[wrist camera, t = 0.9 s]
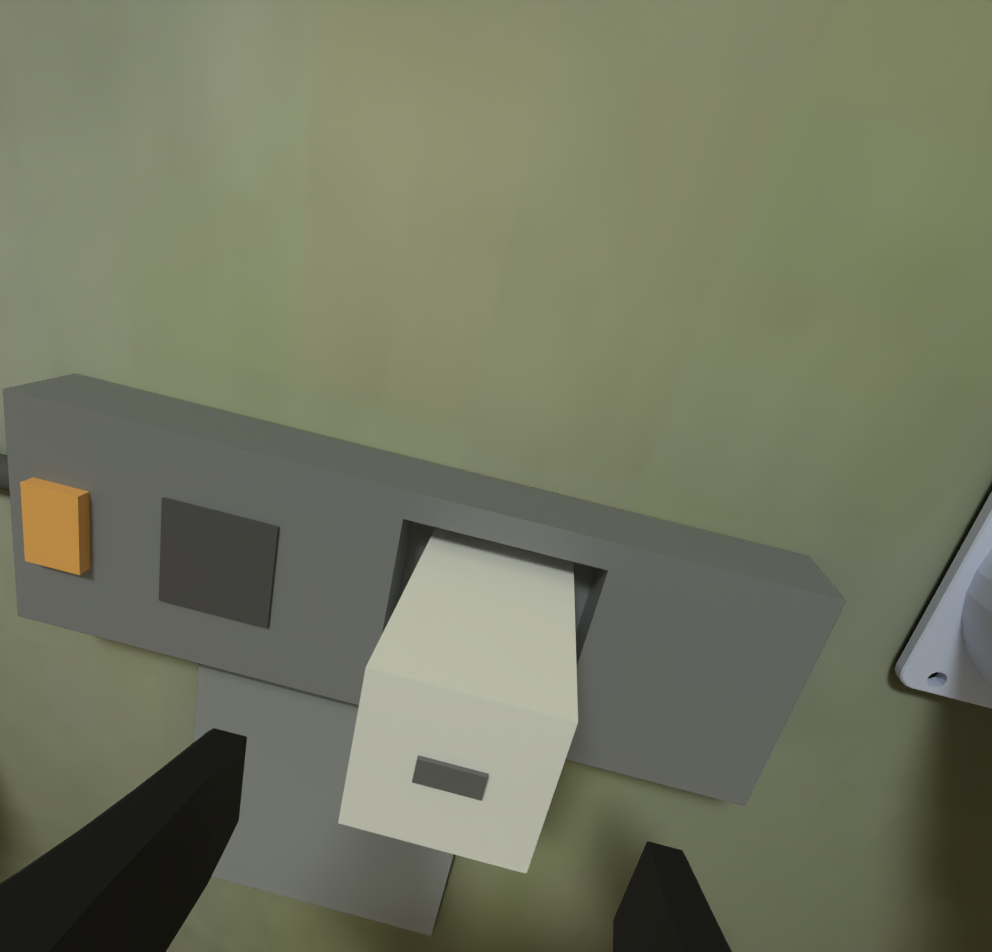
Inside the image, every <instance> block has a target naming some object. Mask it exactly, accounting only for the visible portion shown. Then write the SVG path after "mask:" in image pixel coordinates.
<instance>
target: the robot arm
mask: <svg viewBox="0 0 992 952" xmlns="http://www.w3.org/2000/svg"><path fill="white" fill-rule="evenodd" d="M935 672H938V674H937V675H936V676H935V677H933V678H930V679H928V677H929V676H930V675H931V674H933V673H935ZM895 673H896V675H897V677H898V678H899V679H900V680H901V681H902V683H903V684H904V685H905V686H907V687H909V688H912V689H916V690H920V691H924V692H928V693H932V694H936V695H940V696H944V697H948V698H952V699H956V700H959V701H963V702H967V703H971V704H975V705H979V706H983V707H987V708H991V709H992V492H991V493H990V495H989V497H988V499H987V501H986V502H985V504H984V506H983V508H982V510H981V512H980V513H979V515H978V517H977V519H976V521H975V522H974V524H973V526H972V528H971V530H970V531H969V533H968V535H967V537H966V539H965V540H964V542H963V544H962V546H961V548H960V549H959V551H958V553H957V555H956V557H955V558H954V560H953V562H952V564H951V566H950V568H949V569H948V571H947V573H946V575H945V577H944V578H943V580H942V582H941V584H940V586H939V587H938V589H937V591H936V593H935V595H934V596H933V598H932V600H931V602H930V604H929V605H928V607H927V609H926V611H925V613H924V615H923V616H922V618H921V620H920V622H919V624H918V625H917V627H916V629H915V631H914V633H913V634H912V636H911V638H910V640H909V642H908V643H907V645H906V647H905V649H904V651H903V652H902V654H901V656H900V658H899V660H898V661H897V663H896V666H895ZM246 743H247V737H246V736H243V735H239V734H235V733H231V732H227V731H223V730H220V729H216V728H213V729H211V730H209V731H207V732H206V733H205V734H204V735H203V736H201V737H200V738H199V739H198V740H196V741H195V742H194V743H193V744H191V745H190V746H189V747H188V748H186V749H185V750H184V751H183V752H182V753H180V754H179V755H178V756H177V757H175V758H174V759H173V760H172V761H170V762H169V763H168V764H166V765H165V766H164V767H163V768H161V769H160V770H159V771H158V772H156V773H155V774H154V775H152V776H151V777H150V778H149V779H147V780H146V781H145V782H143V783H142V784H141V785H140V786H138V787H137V788H136V789H134V790H133V791H132V792H130V793H129V794H128V795H126V796H125V797H124V798H122V799H121V800H120V801H118V802H117V803H116V804H114V805H113V806H111V807H110V808H109V809H107V810H106V811H105V812H103V813H102V814H101V815H99V816H98V817H97V818H95V819H94V820H93V821H91V822H90V823H89V824H87V825H86V826H84V827H83V828H82V829H80V830H79V831H77V832H76V833H75V834H73V835H72V836H70V837H69V838H67V839H66V840H64V841H63V842H61V843H60V844H59V845H57V846H56V847H54V848H53V849H51V850H50V851H48V852H47V853H45V854H44V855H43V856H41V857H40V858H38V859H37V860H35V861H34V862H32V863H31V864H29V865H28V866H26V867H25V868H24V869H22V870H21V871H19V872H18V873H16V874H15V875H13V876H12V877H10V878H9V879H7V880H5V881H4V882H2V883H1V884H0V952H166V950H167V949H168V947H169V945H170V944H171V942H172V941H173V939H174V937H175V936H176V934H177V933H178V931H179V929H180V928H181V926H182V924H183V923H184V921H185V920H186V918H187V916H188V915H189V913H190V912H191V910H192V908H193V907H194V905H195V903H196V902H197V900H198V899H199V897H200V895H201V894H202V892H203V890H204V889H205V887H206V885H207V884H208V882H209V880H210V878H211V876H212V874H213V872H214V870H215V868H216V866H217V864H218V862H219V860H220V858H221V856H222V854H223V852H224V850H225V848H226V846H227V844H228V842H229V840H230V838H231V836H232V834H233V832H234V830H235V828H236V826H237V823H238V821H239V814H240V804H241V794H242V784H243V773H244V763H245V753H246ZM613 952H732V951H731V949H730V947H729V945H728V943H727V941H726V939H725V937H724V935H723V933H722V931H721V929H720V927H719V925H718V923H717V921H716V919H715V917H714V915H713V913H712V911H711V909H710V907H709V905H708V902H707V900H706V898H705V896H704V894H703V892H702V890H701V888H700V886H699V884H698V881H697V879H696V877H695V875H694V873H693V871H692V869H691V867H690V865H689V862H688V860H687V858H686V856H685V855H684V853H683V851H682V850H679V849H675V848H671V847H667V846H663V845H660V844H656V843H652V842H648V841H647V843H646V846H645V848H644V850H643V853H642V855H641V857H640V860H639V862H638V864H637V866H636V869H635V871H634V873H633V876H632V878H631V880H630V883H629V885H628V887H627V890H626V892H625V894H624V897H623V899H622V901H621V904H620V906H619V908H618V911H617V913H616V915H615V918H614V920H613Z"/></svg>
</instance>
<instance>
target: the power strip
mask: <svg viewBox="0 0 992 952" xmlns="http://www.w3.org/2000/svg"><path fill="white" fill-rule="evenodd" d="M3 399H4V414H5V429H6V444H7V455H3V454H0V488H3V489H7V490H10V503H11V518H12V533H13V548H14V563H15V578H16V592H17V607H18V616H20V617H24V618H28V619H31V620H35V621H39V622H43V623H47V624H51V625H54V626H58V627H62V628H66V629H70V630H73V631H77V632H81V633H85V634H89V635H93V636H96V637H100V638H104V639H108V640H112V641H116V642H119V643H123V644H127V645H131V646H135V647H138V648H142V649H146V650H150V651H154V652H158V653H161V654H165V655H169V656H173V657H177V658H180V659H184V660H188V661H192V662H196V663H200V664H203V665H207V666H211V667H215V668H219V669H222V670H226V671H230V672H234V673H238V674H242V675H245V676H249V677H253V678H257V679H261V680H264V681H268V682H272V683H276V684H280V685H284V686H287V687H291V688H295V689H299V690H303V691H307V692H310V693H314V694H318V695H322V696H326V697H329V698H333V699H337V700H341V701H345V702H349V703H352V704H356V705H359V702H360V696H361V691H362V685H363V679H364V674H365V668H366V666H367V664H368V662H369V660H370V658H371V656H372V654H373V652H374V650H375V648H376V646H377V644H378V642H379V640H380V638H381V636H382V634H383V632H384V630H385V628H386V626H387V624H388V622H389V620H390V618H391V616H392V614H393V612H394V610H395V608H396V606H397V604H398V602H399V600H400V598H401V596H402V594H403V592H404V590H405V588H406V586H407V584H408V582H409V580H410V578H411V576H412V574H413V572H414V570H415V568H416V566H417V564H418V562H419V560H420V558H421V556H422V554H423V552H424V550H425V548H426V546H427V544H428V542H429V540H430V538H431V536H432V534H433V532H434V530H435V528H436V527H437V528H441V529H445V530H449V531H453V532H457V533H461V534H465V535H469V536H473V537H477V538H481V539H485V540H489V541H493V542H497V543H501V544H505V545H509V546H513V547H517V548H521V549H525V550H529V551H533V552H536V553H540V554H544V555H548V556H552V557H556V558H560V559H564V560H568V561H572V562H574V596H575V631H576V665H577V700H578V724H577V727H576V730H575V733H574V736H573V739H572V742H571V745H570V748H569V751H568V753H567V756H566V760H570V761H574V762H578V763H582V764H585V765H589V766H593V767H597V768H601V769H605V770H608V771H612V772H616V773H620V774H624V775H627V776H631V777H635V778H639V779H643V780H647V781H650V782H654V783H658V784H662V785H666V786H669V787H673V788H677V789H681V790H685V791H689V792H692V793H696V794H700V795H704V796H708V797H711V798H715V799H719V800H723V801H727V802H731V803H734V804H738V805H742V806H745V804H746V802H747V800H748V798H749V796H750V794H751V792H752V790H753V788H754V786H755V784H756V782H757V780H758V778H759V776H760V774H761V772H762V770H763V768H764V766H765V764H766V762H767V760H768V758H769V756H770V754H771V752H772V750H773V748H774V746H775V744H776V742H777V740H778V738H779V736H780V734H781V732H782V730H783V728H784V726H785V724H786V722H787V720H788V718H789V716H790V714H791V712H792V710H793V708H794V706H795V704H796V702H797V700H798V698H799V696H800V693H801V691H802V689H803V687H804V685H805V683H806V681H807V679H808V677H809V675H810V673H811V671H812V669H813V667H814V665H815V663H816V661H817V659H818V657H819V655H820V653H821V651H822V649H823V647H824V645H825V643H826V641H827V639H828V637H829V635H830V633H831V631H832V629H833V627H834V625H835V623H836V621H837V619H838V617H839V615H840V613H841V611H842V609H843V607H844V605H845V603H846V601H847V600H846V599H845V598H844V597H843V596H842V594H841V593H840V592H839V591H838V590H837V589H836V587H835V586H834V585H833V584H832V583H831V581H830V580H829V579H828V578H827V577H826V576H825V574H824V573H823V572H822V571H821V570H820V569H819V567H818V566H817V565H816V564H815V563H814V561H813V560H812V559H811V558H810V557H809V556H805V555H801V554H797V553H793V552H789V551H785V550H781V549H777V548H773V547H769V546H765V545H761V544H757V543H753V542H749V541H745V540H741V539H737V538H733V537H729V536H725V535H721V534H717V533H713V532H709V531H705V530H701V529H697V528H693V527H689V526H685V525H681V524H677V523H673V522H669V521H665V520H661V519H657V518H653V517H649V516H645V515H641V514H636V513H632V512H628V511H624V510H620V509H616V508H612V507H608V506H604V505H600V504H596V503H592V502H588V501H584V500H580V499H576V498H572V497H568V496H564V495H560V494H556V493H552V492H548V491H544V490H540V489H536V488H532V487H528V486H524V485H520V484H516V483H512V482H508V481H504V480H500V479H496V478H492V477H488V476H484V475H480V474H476V473H472V472H468V471H464V470H460V469H456V468H452V467H448V466H444V465H440V464H436V463H432V462H428V461H424V460H420V459H416V458H412V457H407V456H403V455H399V454H395V453H391V452H387V451H383V450H379V449H375V448H371V447H367V446H363V445H359V444H355V443H351V442H347V441H343V440H339V439H335V438H331V437H327V436H323V435H319V434H315V433H311V432H307V431H303V430H299V429H295V428H291V427H287V426H283V425H279V424H275V423H271V422H267V421H263V420H259V419H255V418H251V417H247V416H243V415H239V414H235V413H231V412H227V411H223V410H219V409H215V408H211V407H207V406H203V405H199V404H195V403H191V402H187V401H183V400H178V399H174V398H170V397H166V396H162V395H158V394H154V393H150V392H146V391H142V390H138V389H134V388H130V387H126V386H122V385H118V384H114V383H110V382H106V381H102V380H98V379H94V378H90V377H86V376H82V375H78V374H71V375H66V376H61V377H57V378H52V379H47V380H43V381H38V382H33V383H29V384H24V385H19V386H15V387H10V388H5V389H3Z"/></svg>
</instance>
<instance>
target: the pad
mask: <svg viewBox="0 0 992 952" xmlns="http://www.w3.org/2000/svg"><path fill="white" fill-rule="evenodd" d="M358 708H359V705H356V704H352V703H349V702H345V701H341V700H337V699H333V698H329V697H326V696H322V695H318V694H314V693H310V692H307V691H303V690H299V689H295V688H291V687H287V686H284V685H280V684H276V683H272V682H268V681H264V680H261V679H257V678H253V677H249V676H245V675H242V674H238V673H234V672H230V671H226V670H222V669H219V668H215V667H211V666H207V665H203V664H200V665H199V666H198V681H197V698H196V715H195V732H194V742H195V741H196V740H198V739H199V738H200V737H201V736H203V735H204V734H205V733H206V732H207V731H209V730H211V729H213V728H216V729H220V730H223V731H227V732H231V733H235V734H239V735H243V736H246V737H247V743H246V753H245V763H244V773H243V784H242V794H241V804H240V814H239V821H238V823H237V826H236V828H235V830H234V832H233V834H232V836H231V838H230V840H229V842H228V844H227V846H226V848H225V850H224V852H223V854H222V856H221V858H220V860H219V862H218V864H217V866H216V868H215V870H214V872H213V874H212V876H211V877H215V878H218V879H222V880H226V881H229V882H233V883H237V884H240V885H244V886H248V887H251V888H255V889H259V890H262V891H266V892H270V893H273V894H277V895H281V896H284V897H288V898H292V899H296V900H299V901H303V902H307V903H310V904H314V905H318V906H321V907H325V908H329V909H332V910H336V911H340V912H343V913H347V914H351V915H354V916H358V917H362V918H365V919H369V920H373V921H376V922H380V923H384V924H387V925H391V926H395V927H398V928H402V929H406V930H409V931H413V932H417V933H420V934H424V935H428V936H431V935H432V931H433V928H434V924H435V920H436V917H437V913H438V910H439V906H440V902H441V899H442V895H443V892H444V888H445V884H446V881H447V877H448V873H449V870H450V866H451V863H452V859H453V855H454V854H451V853H447V852H444V851H440V850H436V849H432V848H429V847H425V846H421V845H417V844H414V843H410V842H406V841H402V840H399V839H395V838H391V837H388V836H384V835H380V834H376V833H373V832H369V831H365V830H361V829H358V828H354V827H350V826H346V825H343V824H339V823H338V820H339V815H340V809H341V803H342V798H343V792H344V787H345V781H346V775H347V770H348V764H349V758H350V753H351V747H352V741H353V736H354V730H355V725H356V719H357V713H358Z"/></svg>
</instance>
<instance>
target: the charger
mask: <svg viewBox="0 0 992 952" xmlns="http://www.w3.org/2000/svg"><path fill="white" fill-rule="evenodd" d="M577 724H578V700H577V665H576V631H575V596H574V562H572V561H568V560H564V559H560V558H556V557H552V556H548V555H544V554H540V553H536V552H533V551H529V550H525V549H521V548H517V547H513V546H509V545H505V544H501V543H497V542H493V541H489V540H485V539H481V538H477V537H473V536H469V535H465V534H461V533H457V532H453V531H449V530H445V529H441V528H437V527H436V528H435V530H434V532H433V534H432V536H431V538H430V540H429V542H428V544H427V546H426V548H425V550H424V552H423V554H422V556H421V558H420V560H419V562H418V564H417V566H416V568H415V570H414V572H413V574H412V576H411V578H410V580H409V582H408V584H407V586H406V588H405V590H404V592H403V594H402V596H401V598H400V600H399V602H398V604H397V606H396V608H395V610H394V612H393V614H392V616H391V618H390V620H389V622H388V624H387V626H386V628H385V630H384V632H383V634H382V636H381V638H380V640H379V642H378V644H377V646H376V648H375V650H374V652H373V654H372V656H371V658H370V660H369V662H368V664H367V666H366V668H365V674H364V679H363V685H362V691H361V696H360V702H359V708H358V713H357V719H356V725H355V730H354V736H353V741H352V747H351V753H350V758H349V764H348V770H347V775H346V781H345V787H344V792H343V798H342V803H341V809H340V815H339V820H338V823H339V824H343V825H346V826H350V827H354V828H358V829H361V830H365V831H369V832H373V833H376V834H380V835H384V836H388V837H391V838H395V839H399V840H402V841H406V842H410V843H414V844H417V845H421V846H425V847H429V848H432V849H436V850H440V851H444V852H447V853H451V854H455V855H458V856H462V857H466V858H470V859H473V860H477V861H481V862H485V863H488V864H492V865H496V866H500V867H503V868H507V869H511V870H514V871H518V872H522V873H527V870H528V868H529V865H530V862H531V859H532V856H533V853H534V850H535V847H536V844H537V841H538V838H539V835H540V832H541V829H542V827H543V824H544V821H545V818H546V815H547V812H548V809H549V806H550V803H551V800H552V797H553V794H554V791H555V789H556V786H557V783H558V780H559V777H560V774H561V771H562V768H563V765H564V762H565V759H566V756H567V753H568V751H569V748H570V745H571V742H572V739H573V736H574V733H575V730H576V727H577Z"/></svg>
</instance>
